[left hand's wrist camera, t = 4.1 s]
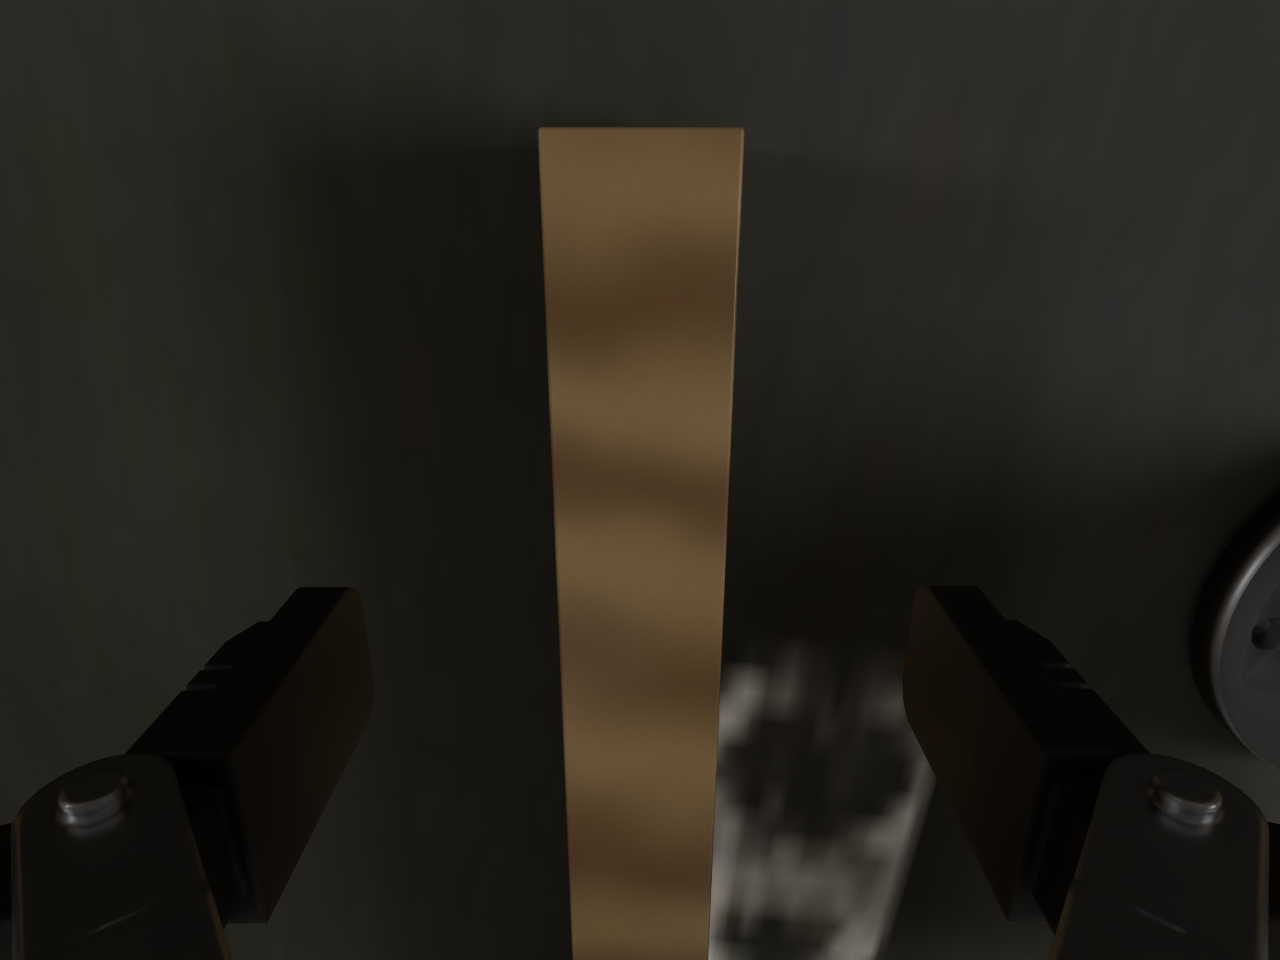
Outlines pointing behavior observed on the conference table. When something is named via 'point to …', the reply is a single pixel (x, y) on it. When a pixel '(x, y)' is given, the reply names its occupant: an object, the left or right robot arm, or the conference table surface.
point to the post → (640, 514)
